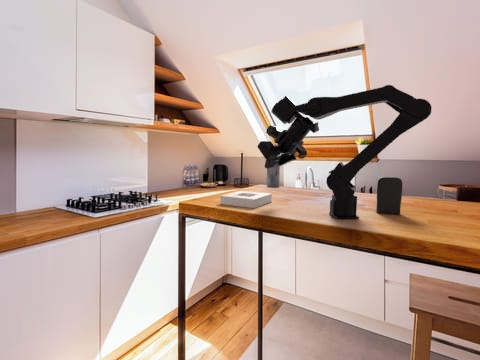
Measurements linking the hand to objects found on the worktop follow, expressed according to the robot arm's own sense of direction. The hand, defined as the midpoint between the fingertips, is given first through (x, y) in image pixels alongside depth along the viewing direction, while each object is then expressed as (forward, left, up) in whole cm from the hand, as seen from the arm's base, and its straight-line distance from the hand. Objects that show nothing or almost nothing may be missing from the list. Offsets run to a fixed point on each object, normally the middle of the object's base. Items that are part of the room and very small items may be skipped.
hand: (270, 167), depth 95 cm
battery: (-35, +13, -14) cm, 40 cm away
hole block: (+8, -6, -14) cm, 17 cm away
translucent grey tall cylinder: (-1, +1, -7) cm, 7 cm away
